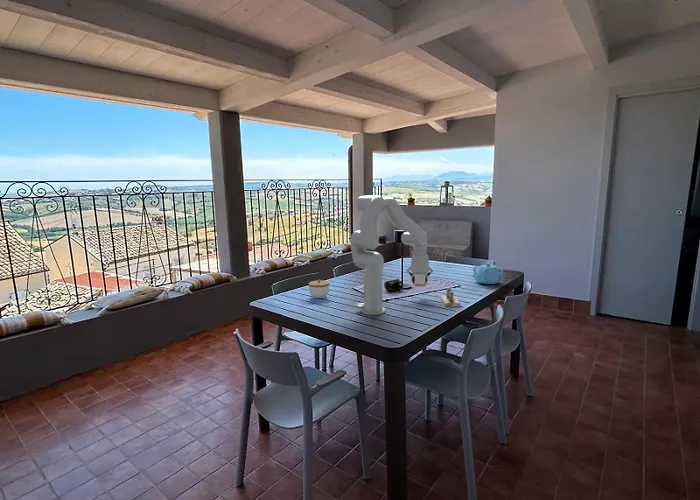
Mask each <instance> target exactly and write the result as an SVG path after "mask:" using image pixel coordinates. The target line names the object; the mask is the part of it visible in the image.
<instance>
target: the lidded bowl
mask: <svg viewBox="0 0 700 500" xmlns="http://www.w3.org/2000/svg"><path fill="white" fill-rule="evenodd" d="M330 283H331V282H330V281H328V280H321V279H317V280H311V281H310V282H308V289H309V294H310V295H311V296H312V297H313V299H315V298H323V299H325V298H327V296H329V295H328V294H329V292H330ZM324 297H325V298H324Z"/></svg>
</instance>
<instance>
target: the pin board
mask: <svg viewBox="0 0 700 500" xmlns="http://www.w3.org/2000/svg"><path fill="white" fill-rule="evenodd" d="M440 301H441V304H442V305H443V306H444V308H445V307H446V308H448V307H449V308H451V307H457V308H459V307H461V302H460V301H459V299H458V298H457V296H455V293H454V291H452V288H450V287H449V288H446V295H440Z"/></svg>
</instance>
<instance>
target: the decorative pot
mask: <svg viewBox="0 0 700 500" xmlns="http://www.w3.org/2000/svg"><path fill="white" fill-rule="evenodd" d="M476 268H477V270H476ZM499 270H500V271H499ZM503 273H504V271H503V269H502V268H501V267H497V266H496V265H494V264H492V263H490V262H485V264H482V265H475V266H474V267H473V274H472V278H474V280H475V281H476V282H477V283H478V284H479V283H483V285H484V284H485V285H489V284H493V285H495V284H497V283H499V282H500V281H503V280H504V277H502V275H503Z"/></svg>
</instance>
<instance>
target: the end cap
mask: <svg viewBox="0 0 700 500" xmlns="http://www.w3.org/2000/svg"><path fill="white" fill-rule="evenodd" d="M403 284H404V282H403V281H402V280H400V279H399V278H397V279H391V280H386V281H384V284H383V287H384V289H385V291H386V292H388V291H389V292H388V293H391V292H394V293H397V292H396V291H398V292H401V291H400V290H402V291H403V287H404V286H403Z"/></svg>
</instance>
